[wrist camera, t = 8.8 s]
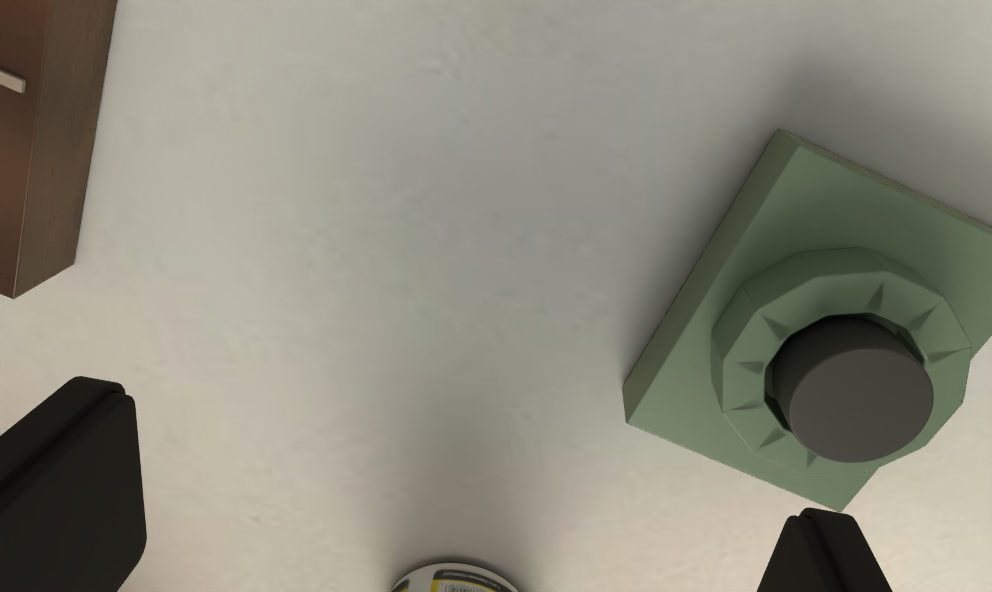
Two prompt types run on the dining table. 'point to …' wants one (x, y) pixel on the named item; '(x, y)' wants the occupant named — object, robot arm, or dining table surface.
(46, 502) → the robot arm
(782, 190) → the switch block
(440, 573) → the pill bottle
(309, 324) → the dining table surface
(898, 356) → the button
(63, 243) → the brown dial block
